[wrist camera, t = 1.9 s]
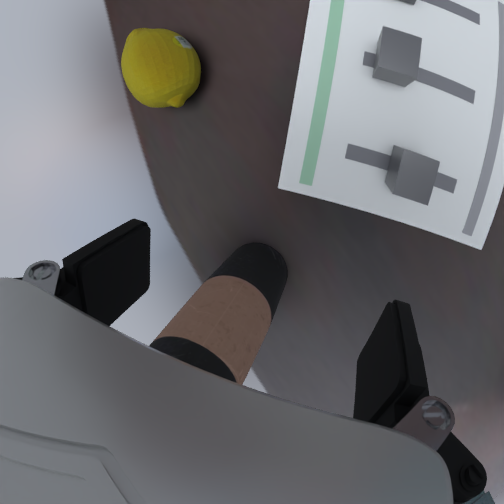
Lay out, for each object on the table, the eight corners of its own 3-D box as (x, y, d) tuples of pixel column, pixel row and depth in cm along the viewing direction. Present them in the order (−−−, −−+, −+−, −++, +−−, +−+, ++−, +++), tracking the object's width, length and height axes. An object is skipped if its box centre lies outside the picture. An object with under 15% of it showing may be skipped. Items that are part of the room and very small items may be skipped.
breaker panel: (509, 15, 13) (520, 8, 11) (471, 239, 26) (481, 250, 23) (322, -48, 18) (319, -61, 15) (284, 182, 31) (277, 188, 28)
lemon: (224, 95, 29) (187, 89, 22) (167, 123, 32) (122, 127, 25) (194, 19, 25) (155, -1, 18) (142, 50, 29) (97, 42, 22)
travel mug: (259, 307, 38) (189, 436, 21) (216, 265, 37) (117, 375, 20) (303, 275, 34) (250, 418, 17) (257, 227, 34) (157, 340, 16)
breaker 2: (424, 155, 22) (440, 161, 18) (414, 191, 24) (427, 205, 19) (393, 144, 23) (403, 148, 18) (384, 181, 24) (392, 194, 20)
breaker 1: (409, 52, 19) (422, 38, 14) (404, 87, 20) (417, 78, 16) (377, 43, 19) (383, 26, 15) (372, 77, 21) (377, 66, 16)
